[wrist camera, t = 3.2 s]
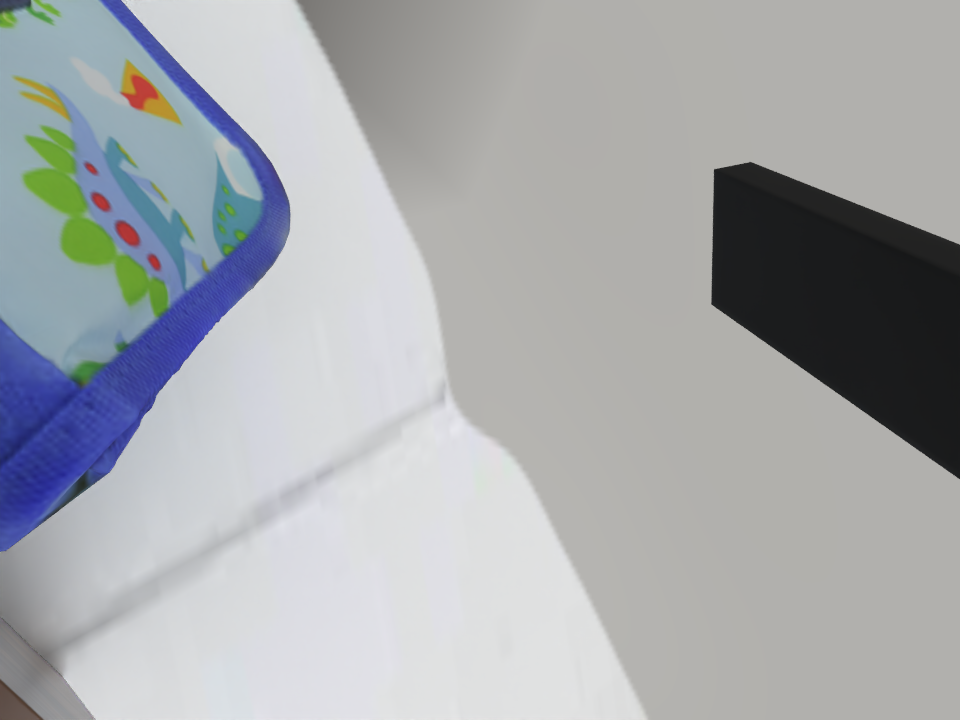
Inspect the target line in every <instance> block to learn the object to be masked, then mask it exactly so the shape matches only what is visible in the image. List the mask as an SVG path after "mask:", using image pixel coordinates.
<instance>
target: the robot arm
mask: <svg viewBox="0 0 960 720" xmlns="http://www.w3.org/2000/svg"><path fill="white" fill-rule="evenodd" d="M712 257H713V258H712V303H711V304H712V305H713V306H715V307H716V308H717V309H719V310H720V311H722V312H723V313H724V314H726V315H727V316H729V317H730V318H731V319H733V320H734V321H736V322H737V323H739V324H740V325H741V326H743V327H744V328H746V329H747V330H749V331H750V332H752V333H753V334H754V335H756V336H757V337H758V338H760V339H761V340H763V341H764V342H766V343H767V344H768V345H770V346H771V347H773V348H774V349H776V350H777V351H778V352H780V353H782V354H783V355H784V356H786V357H787V358H788V359H790V360H791V361H793V362H794V363H796V364H797V365H798V366H800V367H801V368H803V369H804V370H805V371H807V372H808V373H810V374H811V375H812V376H814V377H815V378H817V379H818V380H820V381H821V382H822V383H824V384H825V385H827V386H828V387H829V388H831V389H832V390H834V391H835V392H837V393H838V394H840V395H841V396H842V397H844V398H845V399H847V400H848V401H850V402H851V403H852V404H854V405H855V406H856V407H858V408H859V409H861V410H862V411H864V412H865V413H867V414H868V415H869V416H871V417H872V418H874V419H875V420H876V421H878V422H879V423H881V424H882V425H884V426H885V427H886V428H888V429H889V430H891V431H892V432H894V433H895V434H896V435H898V436H899V437H901V438H902V439H903V440H905V441H906V442H908V443H909V444H910V445H912V446H913V447H915V448H916V449H918V450H919V451H920V452H922V453H923V454H925V455H926V456H928V457H929V458H930V459H932V460H933V461H935V462H936V463H938V464H939V465H940V466H942V467H943V468H945V469H946V470H947V471H949V472H950V473H952V474H953V475H955V476H956V477H957V478H959V479H960V245H959V244H957V243H954V242H952V241H949V240H947V239H944V238H941V237H939V236H936V235H934V234H931V233H929V232H926V231H924V230H921V229H919V228H916V227H914V226H911V225H908V224H906V223H904V222H901V221H898V220H896V219H893V218H891V217H888V216H886V215H883V214H881V213H878V212H876V211H873V210H871V209H868V208H865V207H863V206H861V205H858V204H855V203H853V202H850V201H848V200H845V199H843V198H840V197H838V196H835V195H832V194H830V193H827V192H825V191H822V190H820V189H817V188H815V187H812V186H810V185H807V184H804V183H802V182H800V181H797V180H794V179H792V178H790V177H787V176H785V175H782V174H780V173H777V172H774V171H772V170H769V169H767V168H764V167H762V166H759V165H757V164H754V163H752V162H749V163H744V164H739V165H734V166H729V167H724V168H719V169H714V203H713V252H712Z"/></svg>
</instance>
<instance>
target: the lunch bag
mask: <svg viewBox="0 0 960 720" xmlns="http://www.w3.org/2000/svg"><path fill="white" fill-rule="evenodd" d="M289 230H290V205H289V200H288V197H287V195H286V192H285V189H284V187H283V185H282V183H281V181H280V179H279V177H278V175H277V173H276V171H275V169H274V167H273V165H272V163H271V162H270V160H269V159H268V158H267V156H266V155H265V154H264V152H263V151H262V150H261V148H260V147H259V146H258V144H257V143H256V142H255V141H254V140H253V139H252V138H251V137H250V136H249V135H248V134H247V133H246V132H245V131H244V130H243V129H242V128H241V127H240V126H239V125H238V124H237V123H236V122H235V121H234V120H233V119H232V118H231V117H230V116H229V115H228V114H227V113H226V112H225V111H224V110H223V109H222V108H221V107H220V106H219V105H218V104H217V103H216V102H215V101H214V100H213V98H212V97H211V96H210V95H209V94H208V93H207V92H206V91H205V90H204V89H203V88H202V87H201V86H200V85H199V84H198V83H197V82H196V81H195V80H194V79H193V78H192V77H191V76H190V75H189V74H188V73H187V72H186V71H185V70H184V69H183V68H182V67H181V66H180V65H179V64H178V62H177V61H176V60H175V59H174V58H173V57H172V56H171V55H170V54H169V53H168V52H167V51H166V50H165V48H164V47H163V46H162V45H161V44H160V43H159V42H158V41H157V40H156V39H155V38H154V37H153V35H152V34H151V33H150V32H149V31H148V30H147V29H146V28H145V27H144V26H143V24H142V23H141V22H140V21H139V20H138V19H137V18H136V17H135V15H134V14H133V13H132V12H131V11H130V10H129V9H128V8H127V6H126V5H125V4H124V3H123V2H122V1H121V0H0V552H2V551H6V550H8V549H9V548H10V547H11V546H13V545H14V544H15V543H17V542H18V541H19V540H21V539H22V538H23V537H25V536H26V535H27V534H29V533H30V532H31V531H32V530H34V529H35V528H36V527H38V526H39V525H40V524H42V523H43V522H44V521H46V520H47V519H48V518H50V517H51V516H52V515H53V514H55V513H56V512H57V511H59V510H60V509H61V508H63V507H64V506H65V505H67V504H68V503H69V502H71V501H72V500H73V499H74V498H76V497H77V496H78V495H80V494H81V493H82V492H84V491H85V490H86V489H88V488H89V487H90V486H92V485H93V484H95V483H96V482H97V481H99V480H100V479H101V478H103V477H104V476H105V475H107V474H108V473H109V472H110V471H111V470H112V468H113V467H114V465H115V463H116V461H117V459H118V458H119V456H120V455H121V453H122V451H123V450H124V448H125V447H126V445H127V444H128V442H129V441H130V439H131V438H132V436H133V434H134V433H135V432H136V430H137V429H138V427H139V426H140V422H141V419H142V418H143V416H144V415H145V414H146V413H147V412H148V411H149V410H150V409H151V408H152V406H153V404H154V402H155V399H156V395H157V394H158V392H159V391H160V390H161V389H162V388H163V386H164V385H165V384H166V383H167V382H168V380H169V379H170V378H171V376H172V375H173V374H175V373H176V372H177V371H178V370H179V369H180V367H181V366H182V364H183V362H184V361H185V360H186V359H187V358H188V357H189V356H190V354H191V353H192V352H193V350H194V349H195V348H196V346H197V345H198V344H199V343H200V342H201V341H202V340H203V339H204V337H205V335H207V334H208V332H209V331H210V330H211V329H212V328H213V326H214V325H215V323H216V322H219V321H220V319H221V317H222V316H224V315H225V314H226V313H227V312H228V311H229V310H230V309H231V308H232V307H233V306H234V305H235V304H236V303H237V302H238V301H239V300H240V299H241V298H242V297H243V296H244V295H245V294H246V293H247V292H248V291H250V290H251V289H253V288H254V286H255V285H256V283H257V282H258V281H259V280H260V279H261V278H262V277H263V276H264V275H265V274H266V272H267V271H268V270H269V269H270V268H271V267H272V265H273V264H274V262H275V261H276V259H277V257H278V256H279V254H280V252H281V251H282V249H283V247H284V245H285V243H286V240H287V237H288V234H289Z"/></svg>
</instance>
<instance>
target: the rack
mask: <svg viewBox="0 0 960 720" xmlns="http://www.w3.org/2000/svg"><path fill="white" fill-rule="evenodd" d="M0 720H95V718H94V717H93V716H92V714H91V713H90V712H89V711H88V709H87V708H86V707H85V705H84V704H83V703H82V701H81V700H80V699H79V697H78V696H77V695H76V694H75V692H74V691H73V690H72V688H71V687H70V686H69V684H68V683H67V682H66V681H65V679H64V678H63V677H62V676H61V675H60V674H59V673H58V672H57V671H56V670H55V669H54V668H53V667H52V666H51V665H50V664H49V663H48V662H47V661H45V660H44V659H43V658H42V657H41V656H40V655H39V654H38V653H37V652H36V651H35V650H34V649H33V648H32V647H31V646H30V645H29V644H28V643H27V642H26V641H25V640H24V639H23V638H22V637H21V636H20V635H18V634H17V633H16V632H15V631H14V630H13V629H12V628H11V627H10V626H9V625H8V624H7V623H6V622H5V621H4V620H3V619H2V618H1V617H0Z"/></svg>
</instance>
